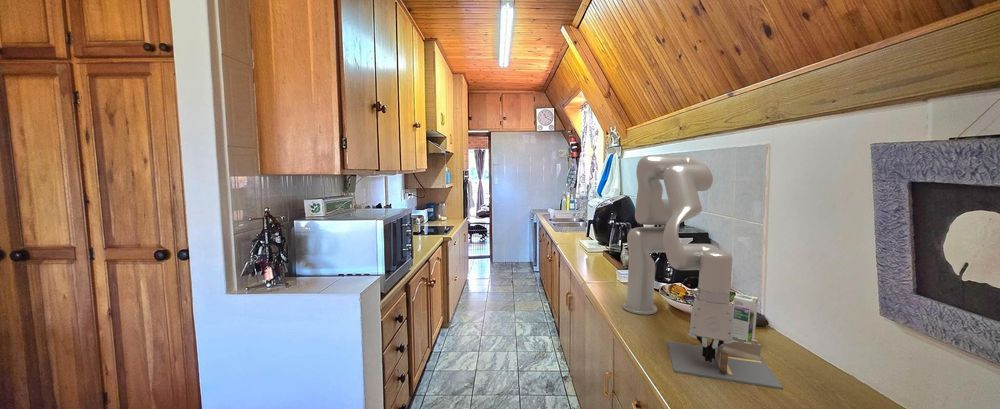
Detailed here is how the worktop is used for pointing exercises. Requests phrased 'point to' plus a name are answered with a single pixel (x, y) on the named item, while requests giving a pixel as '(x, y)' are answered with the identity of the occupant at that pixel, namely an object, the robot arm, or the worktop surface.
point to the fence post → (743, 349)
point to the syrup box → (744, 317)
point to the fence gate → (721, 358)
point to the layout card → (738, 369)
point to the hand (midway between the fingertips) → (708, 359)
